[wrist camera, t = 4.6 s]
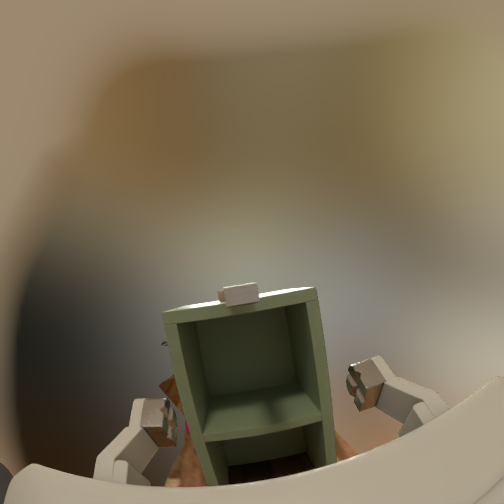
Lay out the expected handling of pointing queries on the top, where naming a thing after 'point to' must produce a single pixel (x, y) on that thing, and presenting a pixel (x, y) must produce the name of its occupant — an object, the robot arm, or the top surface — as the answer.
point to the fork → (239, 295)
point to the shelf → (253, 380)
